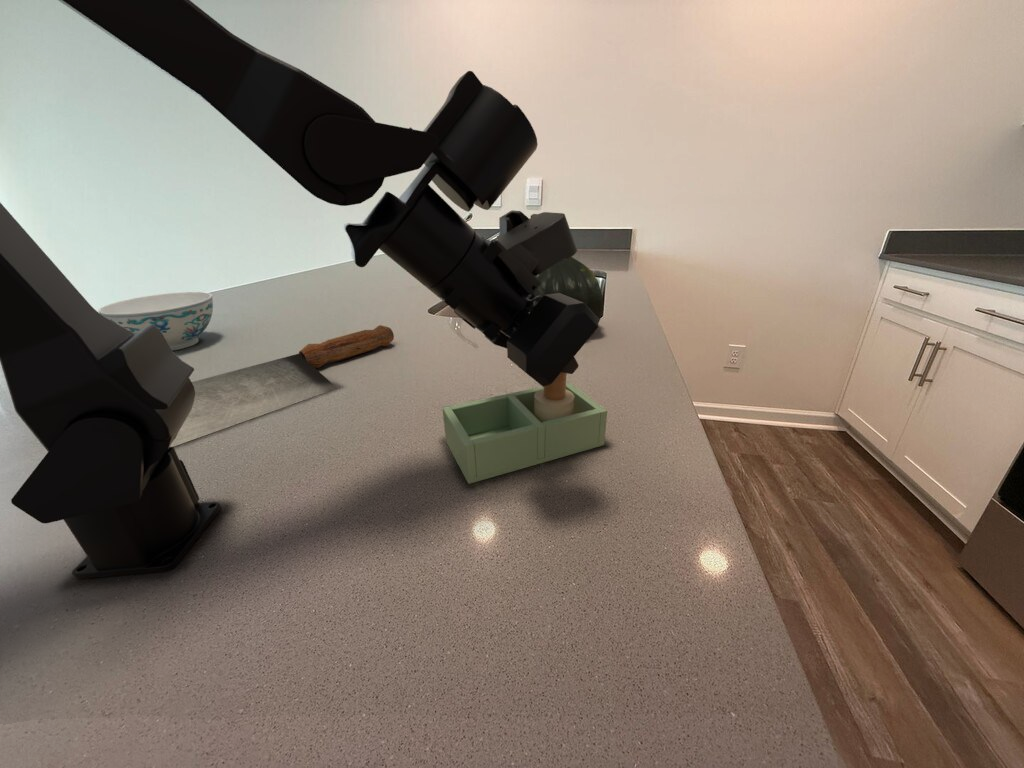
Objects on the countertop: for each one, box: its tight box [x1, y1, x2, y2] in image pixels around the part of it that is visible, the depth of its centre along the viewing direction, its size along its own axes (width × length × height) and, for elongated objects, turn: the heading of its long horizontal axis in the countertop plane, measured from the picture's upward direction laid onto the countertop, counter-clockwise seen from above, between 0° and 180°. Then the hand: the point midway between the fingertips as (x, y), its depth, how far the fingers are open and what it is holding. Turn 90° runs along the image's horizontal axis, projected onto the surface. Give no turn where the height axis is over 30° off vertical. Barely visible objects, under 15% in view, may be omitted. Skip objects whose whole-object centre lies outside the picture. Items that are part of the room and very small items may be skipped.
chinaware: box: [98, 291, 214, 351], centre depth 70 cm, size 15×15×8 cm
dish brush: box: [534, 372, 574, 423], centre depth 40 cm, size 4×4×13 cm
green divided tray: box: [442, 380, 608, 485], centre depth 41 cm, size 14×8×4 cm, turn 114°
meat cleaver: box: [170, 324, 395, 448], centre depth 56 cm, size 34×11×4 cm, turn 139°
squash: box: [534, 256, 604, 322], centre depth 72 cm, size 14×15×15 cm
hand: (567, 365), depth 40 cm, fingers closed on dish brush, 2 cm apart
